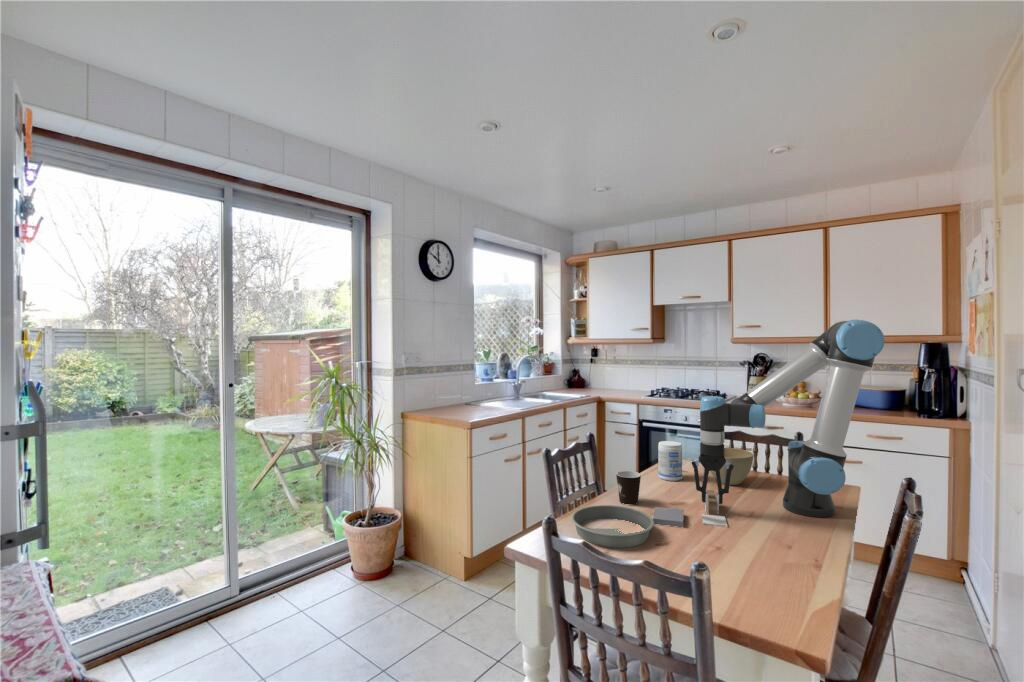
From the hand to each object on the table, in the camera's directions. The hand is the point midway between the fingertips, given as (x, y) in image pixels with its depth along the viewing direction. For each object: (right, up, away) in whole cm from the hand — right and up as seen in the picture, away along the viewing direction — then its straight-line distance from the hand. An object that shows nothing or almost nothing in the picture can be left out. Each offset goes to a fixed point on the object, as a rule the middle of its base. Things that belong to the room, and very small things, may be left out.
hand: (711, 512), depth 161 cm
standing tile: (-15, +1, -1) cm, 15 cm away
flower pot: (+21, 0, +33) cm, 39 cm away
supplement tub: (-1, 0, +39) cm, 39 cm away
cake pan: (-37, -1, -15) cm, 40 cm away
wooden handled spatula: (-1, 0, -2) cm, 2 cm away
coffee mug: (-25, 0, +13) cm, 28 cm away
